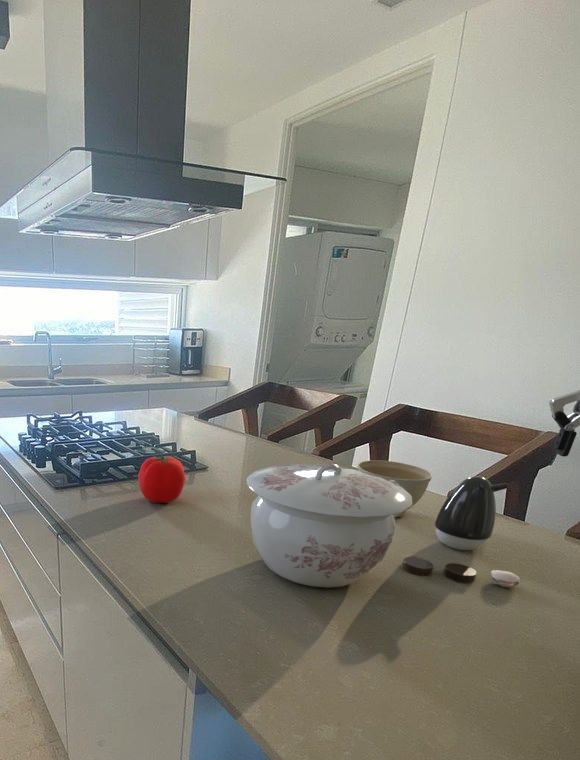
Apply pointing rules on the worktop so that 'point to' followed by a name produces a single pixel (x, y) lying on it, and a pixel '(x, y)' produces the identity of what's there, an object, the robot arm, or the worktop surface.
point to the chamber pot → (323, 521)
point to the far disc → (417, 566)
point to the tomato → (161, 479)
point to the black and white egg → (468, 514)
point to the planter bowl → (400, 476)
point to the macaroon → (504, 578)
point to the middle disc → (459, 572)
